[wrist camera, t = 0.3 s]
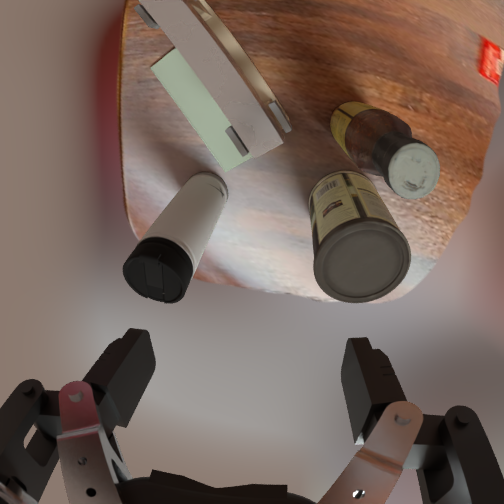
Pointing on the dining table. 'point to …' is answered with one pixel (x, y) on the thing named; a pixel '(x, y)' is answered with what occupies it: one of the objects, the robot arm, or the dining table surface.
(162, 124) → the dining table surface
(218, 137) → the mat
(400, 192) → the sauce bottle
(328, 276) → the coffee can
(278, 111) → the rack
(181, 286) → the travel mug
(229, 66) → the rail
